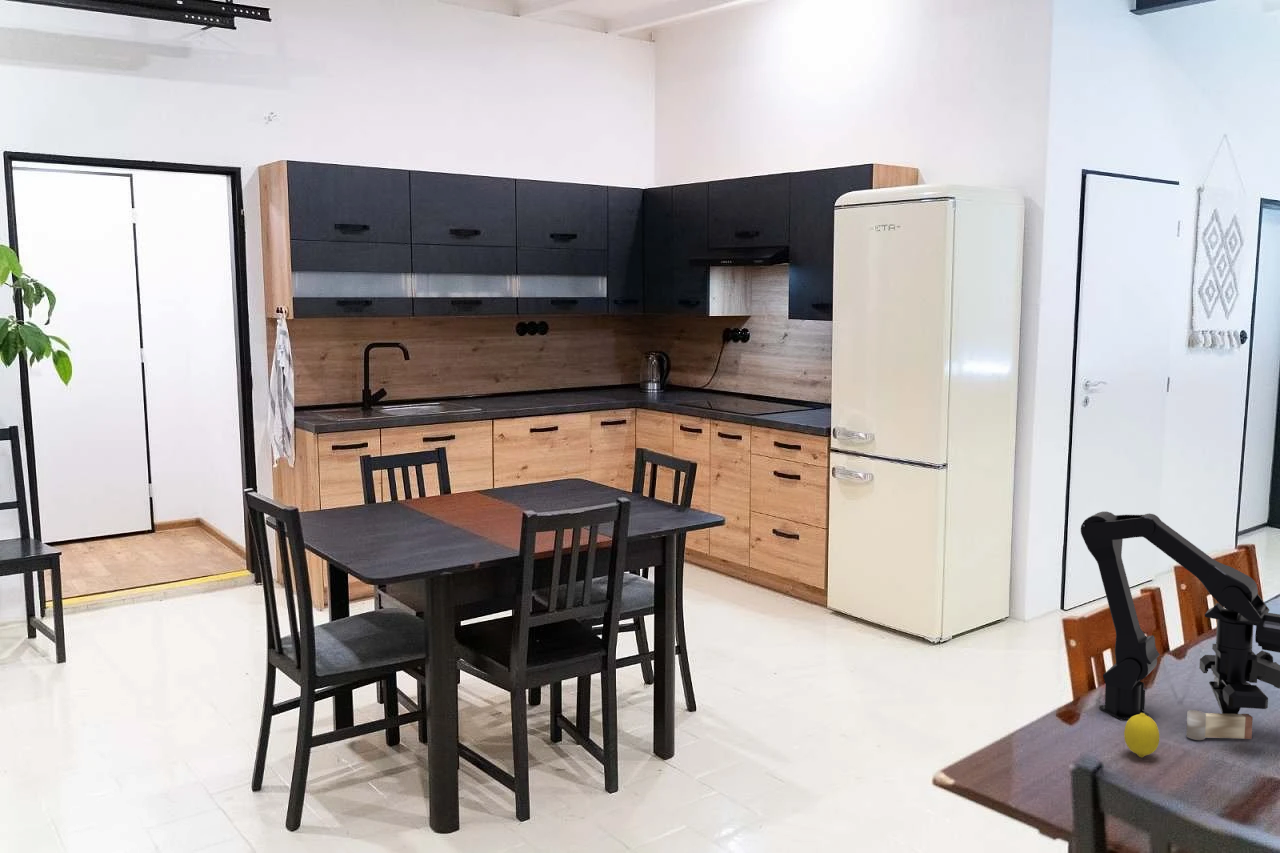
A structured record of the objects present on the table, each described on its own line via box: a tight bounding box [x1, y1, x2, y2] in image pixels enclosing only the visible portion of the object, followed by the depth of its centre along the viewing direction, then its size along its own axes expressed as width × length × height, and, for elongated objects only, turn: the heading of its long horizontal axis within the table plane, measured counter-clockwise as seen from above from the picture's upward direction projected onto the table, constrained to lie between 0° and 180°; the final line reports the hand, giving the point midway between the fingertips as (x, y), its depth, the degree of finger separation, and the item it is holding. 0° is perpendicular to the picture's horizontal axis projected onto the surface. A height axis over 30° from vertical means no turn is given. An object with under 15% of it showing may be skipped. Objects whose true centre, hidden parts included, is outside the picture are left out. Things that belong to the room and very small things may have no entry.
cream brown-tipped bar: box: [1185, 709, 1254, 741], centre depth 187 cm, size 11×3×4 cm, turn 84°
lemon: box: [1123, 713, 1160, 758], centre depth 180 cm, size 6×6×8 cm
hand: (1229, 725), depth 189 cm, fingers closed
